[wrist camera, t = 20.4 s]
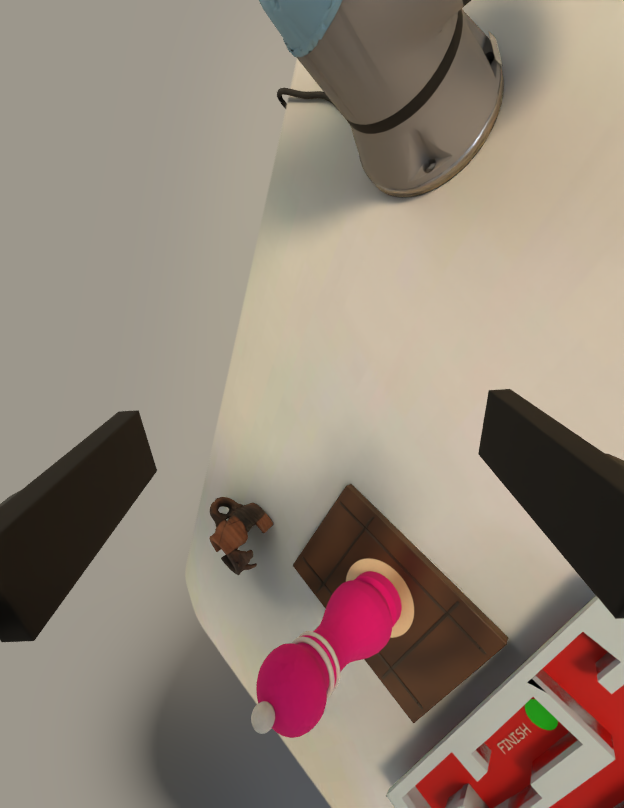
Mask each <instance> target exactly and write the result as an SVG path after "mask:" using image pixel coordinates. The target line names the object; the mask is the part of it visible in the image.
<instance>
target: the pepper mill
mask: <svg viewBox="0 0 624 808" xmlns="http://www.w3.org/2000/svg"><path fill="white" fill-rule="evenodd" d="M401 611H402V605H401V599H400V596H399V594H398V591H397V590H396V588H395V587H394V585H393V584H392V583H391V582H390V581H389V580H388V578H386V577H385V576H383V575H382V574H380V573H377V572H373V571H367V572H364V573H362V574H360V575H359V576H358V577H357V578H356V579H354V580H350V581H347V582H345V583H343V584H341V585H340V586H339V587H338V588H337V589H336V590H335V591H334V593H333V594H332V596H331V598H330V600H329V602H328V604H327V607H326V610H325V613H324V616H323V619H322V622H321V624H320V625H319V626H318V627H317V629H316V630H315V631H313V632H312V631H306V632H303V633H302V634H301V635H300V636H299V637H298V638H296V639H295V640H294V641H293V642H292V644H283V645H281V646H279V647H277V648H276V649H274V650H273V651H272V652H271V653H270V654H269V655H268V656H267V658H266V659H265V660H264V662H263V664H262V666H261V668H260V671H259V674H258V679H257V699H258V704H257V705H256V707H255V708H254V710H253V713H252V717H251V721H252V726H253V728H254V729H255V731H256V732H258V733H262V734H263V733H267V732H268V731H269V730H270V729H271V728H272V729H273V730H275V731H276V732H277V733H279V734H281V735H282V736H285V737H290V738H293V737H300V736H302V735H304V734H305V733H307V732H309V731H310V730H311V729H312V728H313V727H314V726H315V725H316V724H317V723H318V721H319V720H320V718H321V717H322V715H323V713H324V709H325V705H326V701H327V698H328V697H329V696H330V695H331V694H332V692H333V690H335V689H336V688H337V686H338V684H339V681H340V672H341V671H342V669H343V668H344V667H345V666H346V665H347V664H348V663H350V662H353V661H356V660H361V659H366V658H369V657H371V656H373V655H375V654H377V653H378V652H379V651H381V650H382V649H383V648H384V647H385V646H386V645H387V643H388V641H389V639H390V637H391V633H392V627H393V626H394V625H395V624H396V622H397V621H398V620H399V618H400V615H401Z"/></svg>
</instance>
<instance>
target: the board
mask: <svg viewBox="0 0 624 808" xmlns="http://www.w3.org/2000/svg"><path fill="white" fill-rule="evenodd" d="M293 567H294V568H295V569H296V570H297V572H298V573H299V574H300V576H301V577H302V578H303V580H304V581H305V582H306V584H307V585H308V586H309V587H310V589H311V590H312V591H313V593H314V594H315V595H316V597H317V598H318V599H319V601H320V602H321V603H322V604H323V606H324V607H325V608H326V607H327V604H328V602H329V600H330V598H331V596H332V594H333V593H334V591H335V590H336V589H337V588H338V587H339V586H340V585H341V584H343V583H345V582H347V581H350V580H354V579H356V578H357V577H358V576H359V575H360V574H362V573H364V572H367V571H373V572H377V573H380V574H382V575H383V576H385V577H386V578H388V580H389V581H390V582H391V583H392V584H393V585H394V587H395V588H396V590H397V591H398V594H399V596H400V599H401V605H402V611H401V615H400V618H399V620H398V621H397V622H396V624H395V625H394V626H393V627H392V633H391V637H390V639H389V641H388V643H387V645H386V646H385V647H384V648H383V649H382V650H381V651H379V652H378V653H377V654H375V655H373V656H371V657H369V658H366V659H365V661H366V662H367V663H368V665H369V666H370V667H371V669H372V670H373V671H374V672H375V674H376V675H377V676H378V678H379V679H380V680H381V682H382V683H383V684H384V686H385V687H386V688H387V689H388V691H389V692H390V693H391V695H392V696H393V697H394V699H395V700H396V701H397V702H398V704H399V705H400V706H401V708H402V709H403V710H404V712H405V713H406V714H407V716H408V717H409V718H410V719H411V721H412V722H413V723H415V722H416V721H417V720H418V719H419V718H420V717H422V716H423V715H424V714H425V713H426V712H428V711H429V710H430V709H431V708H432V707H433V706H435V705H436V704H437V703H438V702H439V701H441V700H442V699H443V698H444V697H445V696H446V695H448V694H449V693H450V692H451V691H452V690H453V689H455V688H456V687H457V686H458V685H459V684H461V683H462V682H463V681H464V680H465V679H466V678H468V677H469V676H470V675H471V674H472V673H474V672H475V671H476V670H477V669H478V668H479V667H481V666H482V665H483V664H484V663H485V662H486V661H488V660H489V659H490V658H491V657H492V656H494V655H495V654H496V653H497V652H498V651H499V650H501V649H502V648H503V647H504V646H505V645H507V641H508V637H507V636H506V635H505V634H504V633H503V632H502V631H501V630H500V629H499V628H498V627H497V626H496V625H495V624H494V623H493V622H492V621H491V620H490V619H489V618H488V617H487V616H486V615H485V614H484V613H483V612H482V611H481V610H480V609H479V608H478V607H477V606H476V605H475V604H474V603H473V602H472V601H471V600H469V599H468V598H467V597H466V596H465V595H464V594H463V593H462V592H461V591H460V590H459V589H458V588H457V587H456V586H455V585H454V584H453V583H452V582H451V581H450V580H449V579H448V578H447V577H446V576H445V575H444V574H443V573H442V572H441V571H440V570H439V569H438V568H437V567H436V566H435V565H434V564H433V563H432V562H431V561H430V560H429V559H428V558H427V557H425V556H424V555H423V554H422V553H421V552H420V551H419V550H418V549H417V548H416V547H415V546H414V545H413V544H412V543H411V542H410V541H409V540H408V539H407V538H406V537H405V536H404V535H403V534H402V533H401V532H400V531H399V530H398V529H397V528H396V527H395V526H394V525H393V524H392V523H391V522H390V521H389V520H388V519H387V518H386V517H385V516H384V515H383V514H382V513H380V512H379V511H378V510H377V509H376V508H375V507H374V506H373V505H372V504H371V503H370V502H369V501H368V500H367V499H366V498H365V497H364V496H363V495H362V494H361V493H360V492H359V491H358V490H357V489H356V488H355V487H354V486H353V485H352V484H349V485H347V486H346V487H345V489H344V490H343V492H342V493H341V494H340V496H339V497H338V499H337V500H336V502H335V503H334V505H333V506H332V508H331V509H330V511H329V512H328V514H327V515H326V517H325V518H324V520H323V521H322V523H321V524H320V526H319V527H318V529H317V530H316V532H315V533H314V535H313V536H312V537H311V539H310V540H309V542H308V543H307V545H306V546H305V548H304V549H303V551H302V552H301V554H300V555H299V557H298V558H297V560H296V561H295V563H294V564H293Z"/></svg>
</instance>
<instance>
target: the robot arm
mask: <svg viewBox="0 0 624 808" xmlns="http://www.w3.org/2000/svg"><path fill="white" fill-rule="evenodd" d="M259 1H260V4H261V5H262V7H263V9H264V11H265V12H266V14H267V15H268V17H269V18H270V20H271V21H272V22H273V24H274V25H275V27H276V28H277V30H278V31H279V32H280V34H281V35H282V37H283V40H284V42H285V44H286V46H287V48H288V50H289V52H291V53H292V54H293V56H294V57H297V58H298V60H299V61H300V62H301V63H302V65H303V66H304V67H305V68H306V70H307V71H308V72H309V74H310V75H311V76H312V77H313V79H314V80H315V81H316V82H317V84H318V85H319V86H320V87H321V89H322V90H323V91H324V92H321V91H316V92H302V91H297V90H293V89H288V88H281V89H279V90H278V92H277V97H278V100H279V101H280V103H281V104H282V106H283V107H284V108H285V109H286V107H287V103H286V102H285V100H284V99H283V98H282V94H285V95H290V96H294V97H298V98H304V99H313V98H321V99H326V100H328V101H330V102H332V103H333V104H334V105H335V106H336V108H337V109H338V110H339V111H340V113H341V114H342V115H343V116H344V117H345V119H346V120H347V121H348V123H349V124H350V125H351V128H352V132H353V136H354V139H355V143H356V146H357V149H358V152H359V157H360V161H361V164H362V167H363V169H364V171H365V173H366V175H367V176H368V177H369V179H370V180H371V181H372V182H373V183H374V184H375V185H376V187H377V188H379V189H380V190H381V191H383V192H384V193H386V194H388V195H392V196H396V197H411V196H416V195H420V194H423V193H426V192H428V191H431V190H433V189H435V188H437V187H439V186H440V185H442V184H444V183H445V182H447V181H448V180H450V179H451V178H452V177H454V176H455V175H456V174H457V173H458V172H459V171H461V170H462V169H463V168H464V167H465V166H466V165H467V164H468V163H469V162H470V161H471V159H472V158H473V157H474V156H475V155H476V153H477V152H478V151H479V149H480V148H481V147H482V145H483V144H484V142H485V141H486V139H487V137H488V136H489V134H490V132H491V130H492V128H493V126H494V124H495V122H496V119H497V116H498V114H499V111H500V107H501V103H502V98H503V88H504V84H503V74H502V68H501V65H502V62H501V58H500V54H499V50H498V46H497V42H496V38H495V37H494V36H493V35H492V34H491V33H490V32H489V35H490V39H491V40H490V39H489V38H488V37H487V36H486V34H485V33H484V32H483V31H482V30H481V29H480V28H479V27H478V26H477V25H476V24H475V23H474V22H473V20H472V19H471V18H470V17H469V16H468V15H467V14H466V13H465V12H464V11H463V10H462V8H463V7H464V6H465V5H466V4H467V3H468V2H470V1H471V0H259ZM478 454H479V455H480V457H481V458H482V459H483V460H484V461H485V463H486V464H487V465H488V466H489V467H490V469H491V470H492V471H493V472H494V473H495V475H496V476H497V477H498V478H499V479H500V481H501V482H502V483H503V484H504V485H505V487H506V488H507V489H508V490H509V491H510V493H511V494H512V495H513V496H514V497H515V499H516V500H517V501H518V502H519V503H520V505H521V506H522V507H523V508H524V509H525V511H526V512H527V513H528V514H529V515H530V517H531V518H532V519H533V520H534V521H535V523H536V524H537V525H538V526H539V527H540V529H541V530H542V531H543V532H544V533H545V535H546V536H547V537H548V538H549V539H550V541H551V542H552V543H553V544H554V545H555V547H556V548H557V549H558V550H559V551H560V553H561V554H562V555H563V556H564V558H565V559H566V560H567V561H568V562H569V564H570V565H571V566H572V567H573V568H574V570H575V571H576V572H577V573H578V574H579V576H580V577H581V578H582V579H583V580H584V582H585V583H586V584H587V585H588V586H589V588H590V589H591V590H592V591H593V592H594V594H595V595H596V596H597V597H598V598H599V600H600V601H601V602H602V603H603V604H604V606H605V607H606V608H607V609H608V610H609V612H610V613H611V614H612V615H613V616H614V618H615V619H624V461H623V460H621V459H619V458H617V457H614V456H612V455H610V454H605V453H603V452H602V451H600V450H599V449H597V448H596V447H594V446H593V445H591V444H590V443H588V442H587V441H585V440H584V439H582V438H581V437H580V436H578V435H577V434H575V433H574V432H572V431H571V430H569V429H568V428H566V427H565V426H563V425H562V424H560V423H559V422H557V421H556V420H555V419H553V418H552V417H550V416H549V415H547V414H546V413H544V412H543V411H541V410H540V409H538V408H537V407H535V406H534V405H533V404H531V403H530V402H528V401H527V400H525V399H524V398H522V397H521V396H519V395H518V394H516V393H515V392H513V391H512V390H510V389H505V390H489V393H488V399H487V405H486V411H485V417H484V423H483V429H482V435H481V441H480V447H479V453H478ZM156 471H157V469H156V466H155V463H154V460H153V456H152V453H151V450H150V446H149V443H148V440H147V437H146V433H145V430H144V427H143V424H142V420H141V417H140V414H139V411H123V412H118V413H116V414H115V415H114V416H113V417H112V418H110V419H109V420H108V421H107V422H105V423H104V424H103V425H102V426H101V427H99V428H98V429H97V430H95V431H94V432H93V433H92V434H90V435H89V436H88V437H87V438H86V439H84V440H83V441H82V442H81V443H79V444H78V445H77V446H76V447H74V448H73V449H72V450H71V451H70V452H68V453H67V454H66V455H64V456H63V457H62V458H61V459H59V460H58V461H57V462H56V463H55V464H53V465H52V466H51V467H50V468H48V469H47V470H46V471H45V472H43V473H42V474H41V475H40V476H39V477H37V478H36V479H35V480H33V481H32V482H31V483H30V484H28V485H27V486H26V487H25V488H24V489H22V490H21V491H19V492H17V493H15V494H13V495H12V496H10V497H9V498H7V499H6V500H5V501H4V502H2V503H1V504H0V640H1V642H18V641H34V640H35V639H36V637H37V636H38V635H39V633H40V632H41V631H42V629H43V628H44V626H45V625H46V624H47V622H48V621H49V619H50V618H51V617H52V615H53V614H54V613H55V611H56V610H57V608H58V607H59V605H60V604H61V603H62V601H63V600H64V599H65V597H66V596H67V595H68V593H69V592H70V590H71V589H72V588H73V586H74V585H75V584H76V582H77V581H78V579H79V578H80V577H81V575H82V574H83V572H84V571H85V570H86V568H87V567H88V566H89V564H90V563H91V561H92V560H93V559H94V557H95V556H96V554H97V553H98V552H99V550H100V549H101V548H102V546H103V545H104V543H105V542H106V540H107V539H108V538H109V536H110V535H111V534H112V532H113V531H114V530H115V528H116V527H117V525H118V524H119V523H120V521H121V520H122V518H123V517H124V516H125V514H126V513H127V512H128V510H129V509H130V507H131V506H132V504H133V503H134V502H135V501H136V499H137V498H138V496H139V495H140V493H141V492H142V491H143V489H144V488H145V487H146V485H147V484H148V483H149V481H150V480H151V478H152V477H153V475H154V474H155V473H156Z"/></svg>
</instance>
